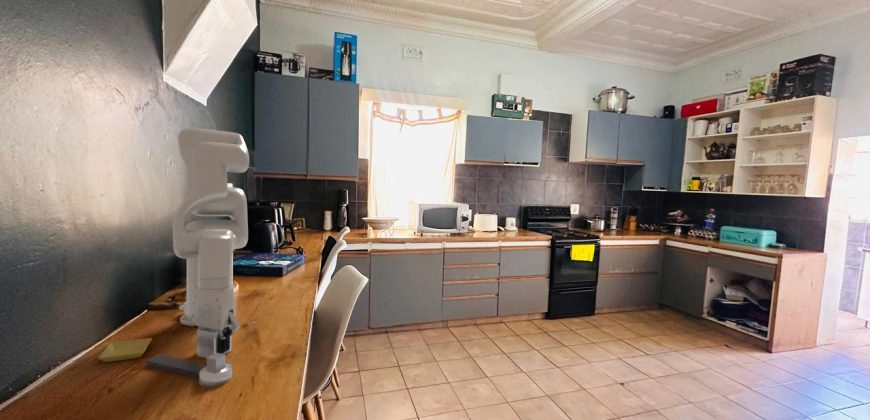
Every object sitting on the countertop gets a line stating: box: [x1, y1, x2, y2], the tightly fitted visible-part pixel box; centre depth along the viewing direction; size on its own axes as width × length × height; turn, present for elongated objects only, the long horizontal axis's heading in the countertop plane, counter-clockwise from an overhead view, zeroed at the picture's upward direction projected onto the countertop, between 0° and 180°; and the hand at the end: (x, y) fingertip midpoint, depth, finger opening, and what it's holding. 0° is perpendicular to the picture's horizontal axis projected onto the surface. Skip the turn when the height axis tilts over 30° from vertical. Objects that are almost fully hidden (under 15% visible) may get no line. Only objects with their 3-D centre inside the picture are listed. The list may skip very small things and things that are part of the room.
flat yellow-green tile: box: [98, 337, 153, 363], centre depth 90 cm, size 9×9×2 cm
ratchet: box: [145, 353, 233, 388], centre depth 84 cm, size 22×6×5 cm, turn 75°
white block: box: [196, 327, 232, 359], centre depth 93 cm, size 5×5×7 cm
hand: (214, 349), depth 93 cm, fingers closed on white block, 5 cm apart
